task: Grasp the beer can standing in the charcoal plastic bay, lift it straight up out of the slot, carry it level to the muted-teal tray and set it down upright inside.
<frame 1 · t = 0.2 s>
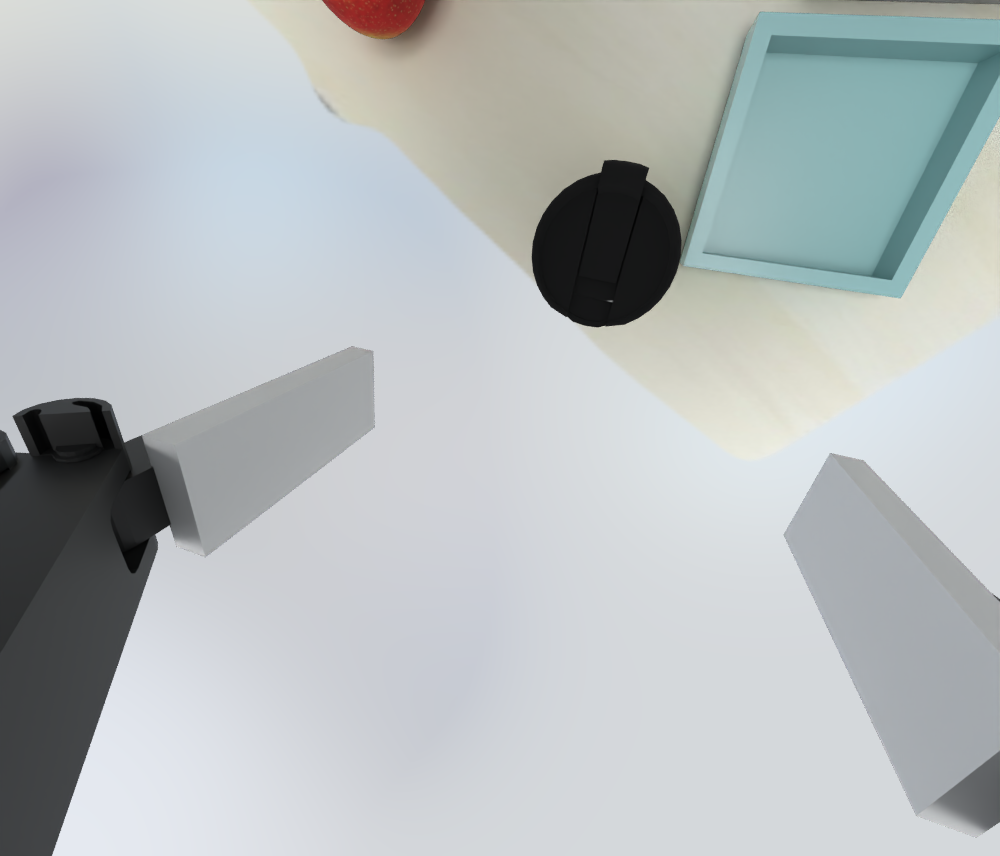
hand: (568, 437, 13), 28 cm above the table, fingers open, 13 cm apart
travel mug: (620, 239, 35), on the table
tray: (815, 171, 29), on the table
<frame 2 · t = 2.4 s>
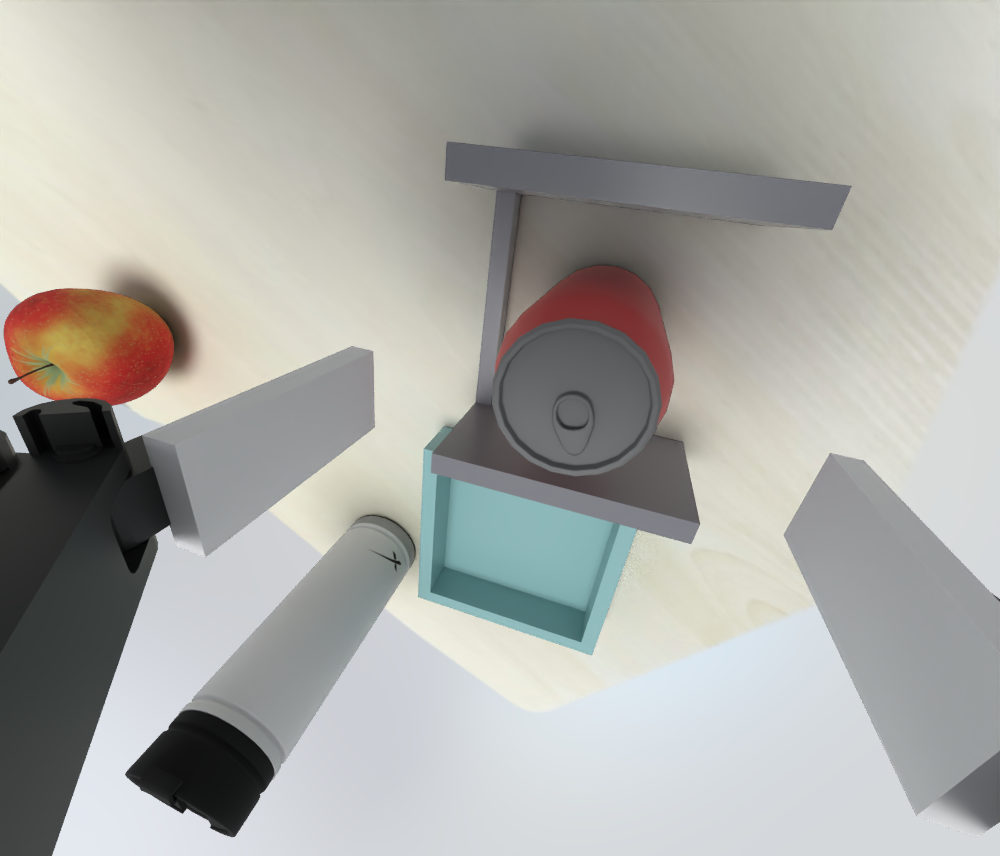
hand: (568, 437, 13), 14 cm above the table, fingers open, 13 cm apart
travel mug: (385, 540, 37), on the table
tray: (524, 528, 32), on the table
apple: (160, 332, 34), on the table
bay: (598, 325, 24), on the table
beer can: (599, 324, 24), on the table
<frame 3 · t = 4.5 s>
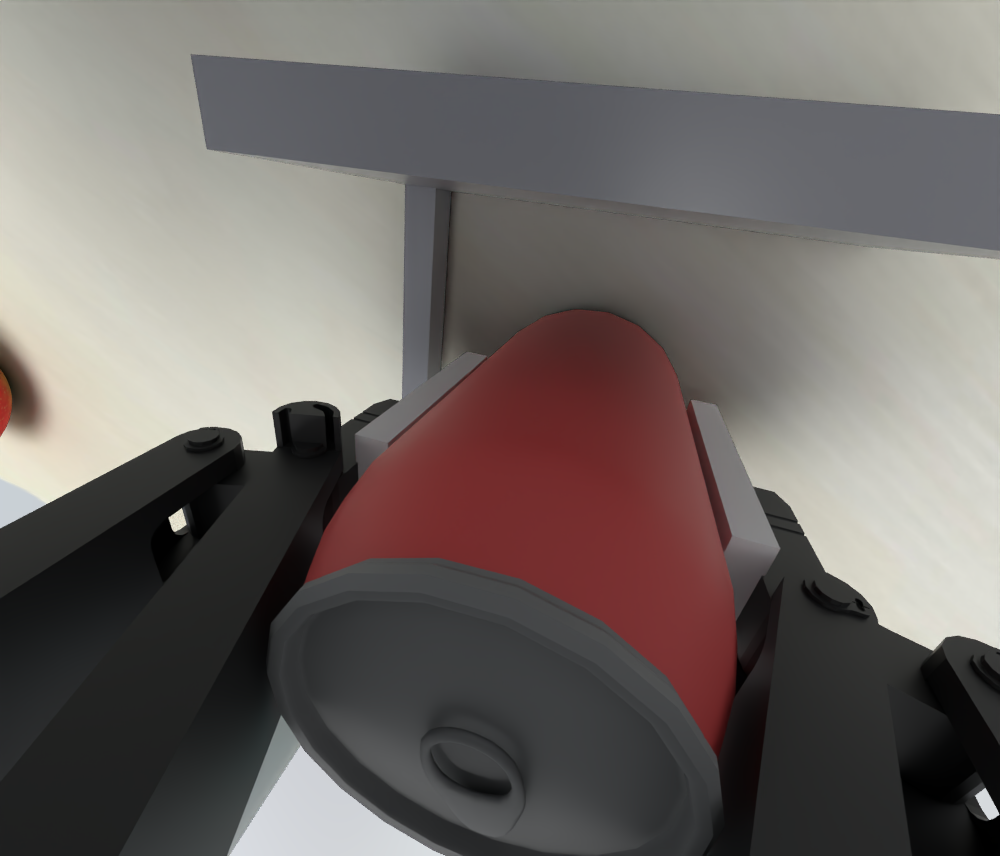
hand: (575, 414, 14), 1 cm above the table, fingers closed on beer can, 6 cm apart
travel mug: (307, 648, 28), on the table
apple: (0, 377, 25), on the table
bay: (580, 398, 15), on the table
beer can: (581, 396, 15), on the table, touching gripper
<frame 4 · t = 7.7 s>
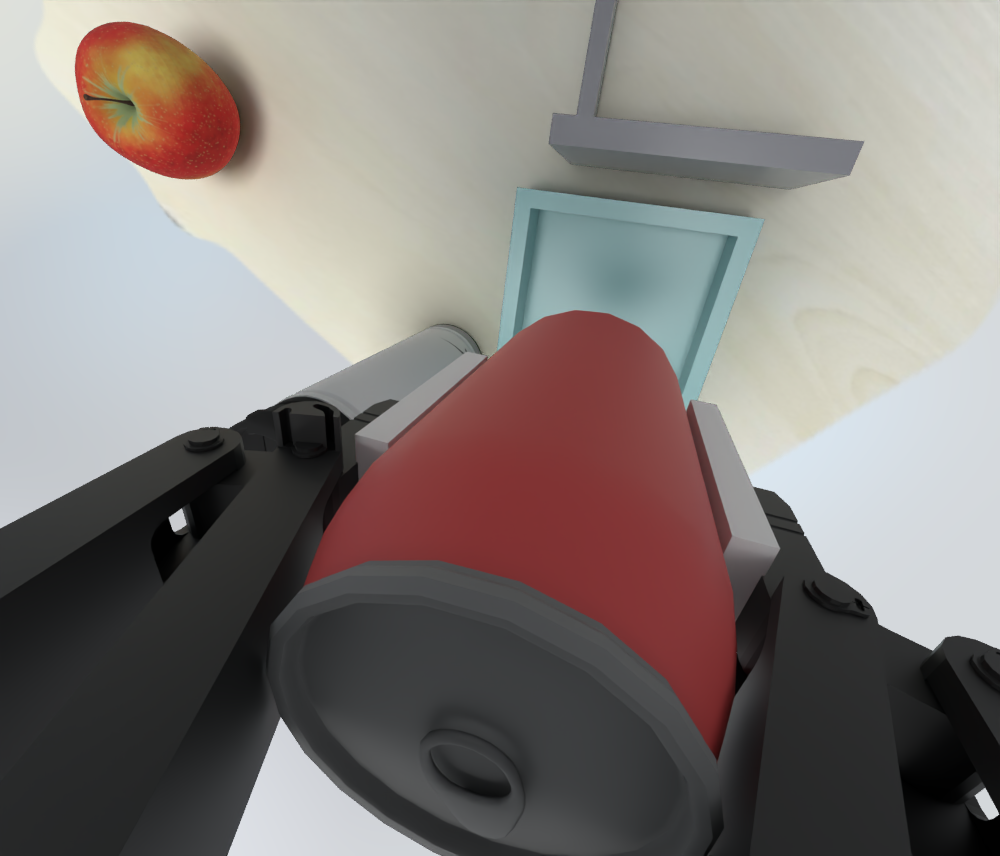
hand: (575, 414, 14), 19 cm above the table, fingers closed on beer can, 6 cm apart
travel mug: (449, 358, 36), on the table
tray: (608, 313, 30), on the table
apple: (223, 121, 33), on the table
bay: (717, 21, 23), on the table
beer can: (581, 397, 15), point 17 cm above the table, touching gripper
when the fingers open (4 cm above the table, at t = 11.2 s): beer can drops 2 cm, resting on tray.
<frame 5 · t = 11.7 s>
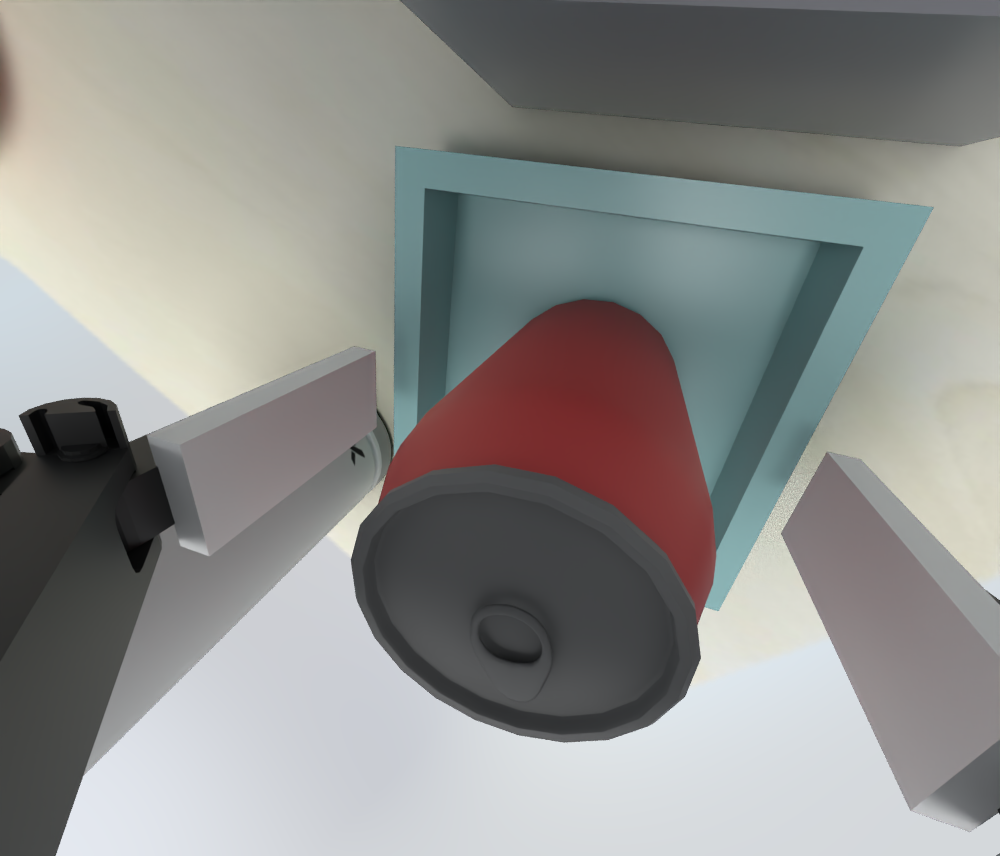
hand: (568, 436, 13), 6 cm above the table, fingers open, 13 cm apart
travel mug: (343, 432, 23), on the table
tray: (587, 377, 17), on the table
beer can: (587, 379, 17), resting on tray
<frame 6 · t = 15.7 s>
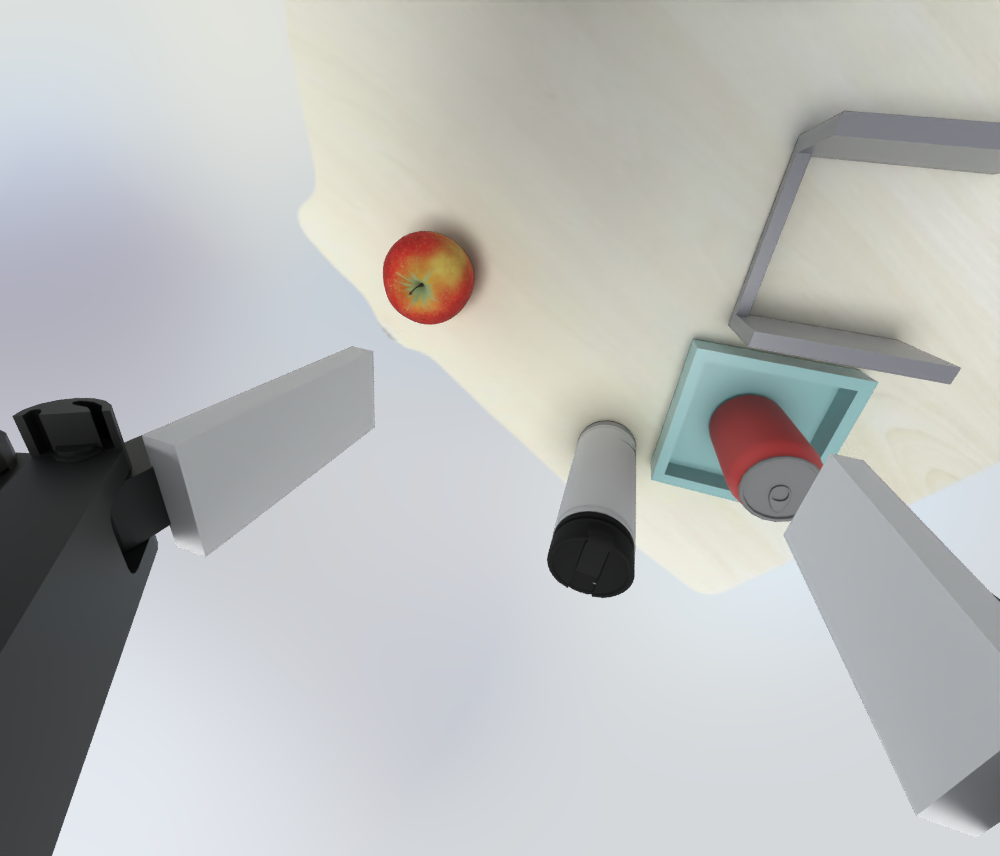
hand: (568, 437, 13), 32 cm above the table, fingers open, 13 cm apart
travel mug: (607, 443, 47), on the table
tray: (743, 422, 42), on the table
apple: (449, 273, 44), on the table
bay: (847, 251, 34), on the table
beer can: (744, 423, 41), resting on tray
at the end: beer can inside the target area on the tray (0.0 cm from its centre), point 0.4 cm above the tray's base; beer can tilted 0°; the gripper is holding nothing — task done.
